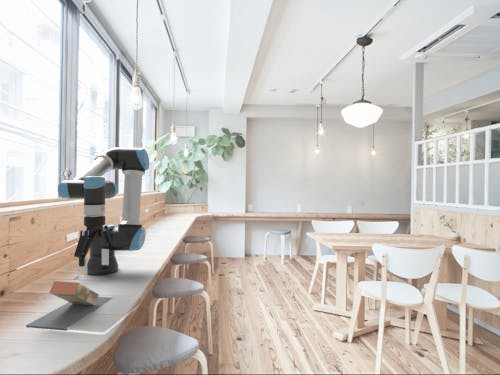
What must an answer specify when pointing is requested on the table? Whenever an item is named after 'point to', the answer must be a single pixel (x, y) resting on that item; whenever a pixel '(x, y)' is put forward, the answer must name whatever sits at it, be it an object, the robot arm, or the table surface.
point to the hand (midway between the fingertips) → (94, 269)
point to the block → (74, 293)
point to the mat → (66, 315)
